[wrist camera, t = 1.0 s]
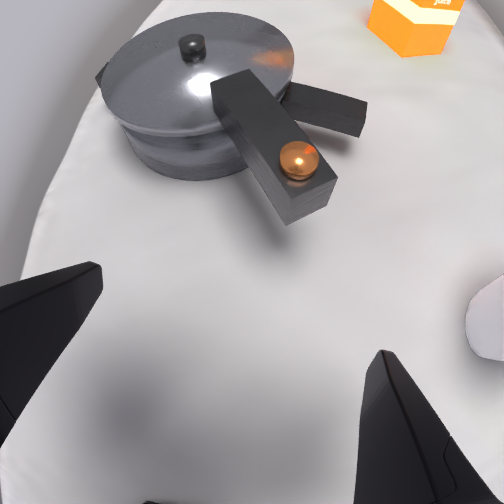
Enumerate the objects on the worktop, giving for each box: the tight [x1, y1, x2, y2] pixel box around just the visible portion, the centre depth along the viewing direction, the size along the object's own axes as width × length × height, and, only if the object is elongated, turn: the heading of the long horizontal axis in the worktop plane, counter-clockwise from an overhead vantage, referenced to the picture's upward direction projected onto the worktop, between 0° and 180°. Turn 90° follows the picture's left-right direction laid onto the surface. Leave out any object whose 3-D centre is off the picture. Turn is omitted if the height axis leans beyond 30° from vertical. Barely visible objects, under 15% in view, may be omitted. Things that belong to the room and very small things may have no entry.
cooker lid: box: [101, 12, 338, 226], centre depth 19 cm, size 16×24×4 cm, turn 28°
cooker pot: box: [95, 62, 367, 181], centre depth 26 cm, size 15×24×6 cm, turn 73°
